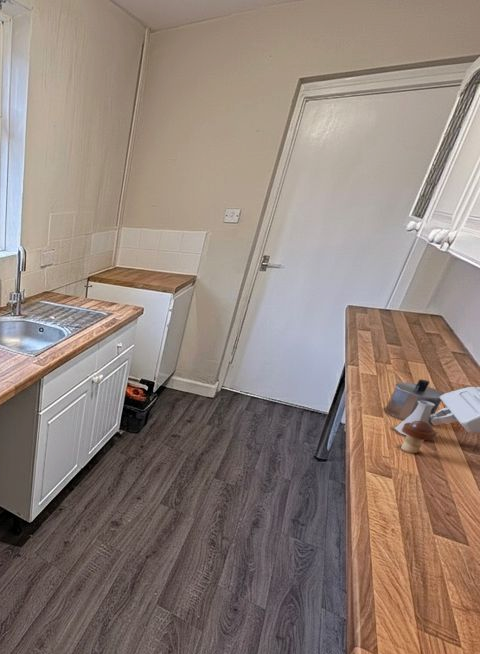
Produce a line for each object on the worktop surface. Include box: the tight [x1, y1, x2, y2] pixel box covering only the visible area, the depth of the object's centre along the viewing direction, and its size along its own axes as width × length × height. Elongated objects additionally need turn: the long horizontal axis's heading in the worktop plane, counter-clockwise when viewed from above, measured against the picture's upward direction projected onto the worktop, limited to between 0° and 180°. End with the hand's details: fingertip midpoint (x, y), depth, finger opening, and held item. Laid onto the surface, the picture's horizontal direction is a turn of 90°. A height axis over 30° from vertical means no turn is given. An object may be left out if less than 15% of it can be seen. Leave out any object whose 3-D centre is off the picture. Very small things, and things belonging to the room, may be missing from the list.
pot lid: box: [394, 379, 445, 399], centre depth 125 cm, size 11×11×4 cm
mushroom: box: [400, 421, 437, 454], centre depth 109 cm, size 6×6×9 cm
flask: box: [393, 401, 435, 436], centre depth 117 cm, size 7×7×10 cm
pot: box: [384, 386, 442, 421], centre depth 127 cm, size 10×10×8 cm
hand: (430, 420), depth 116 cm, fingers closed
